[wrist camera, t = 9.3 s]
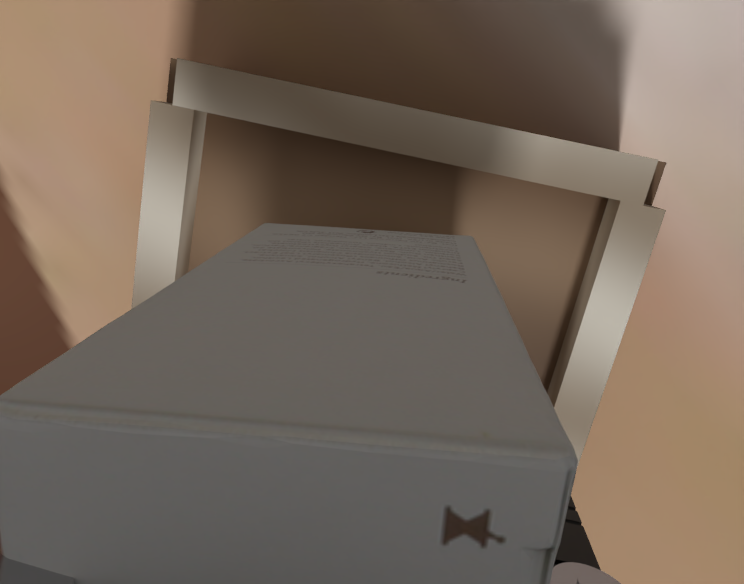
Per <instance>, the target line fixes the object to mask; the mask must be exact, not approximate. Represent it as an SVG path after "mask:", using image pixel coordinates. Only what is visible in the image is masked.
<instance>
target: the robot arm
mask: <svg viewBox="0 0 744 584" xmlns="http://www.w3.org/2000/svg"><path fill="white" fill-rule="evenodd" d="M575 508H576V507H575V505H574V502H573V500H572V497H571V496H570V500H569V505H568V509H567V514H566V519H565V523H564V528H563V533H562V537H561V542H560V545H559V549H558V552H557V555H556V558H555V562H554V566H553V570H552V575H551V580H550V584H621V583H619V582H618V581H617V580H616V579H614V578H613V577H611V576H610V575H608V574H606V573H605V572H603V571H601V570H600V567H599V565H598V562H597V560H596V557H595V555H594V552H593V550H592V547H591V545H590V542H589V540H588V537H587V535H586V532H585V530H584V527H583V526H581V523H582V522H581V520H580V517H579V515H578V512H577V511H575ZM73 580H74V578H73V577H69V576H65V575H62V574H59V573H55V572H52V571H48V570H45V569H42V568H38V567H35V566H32V565H28V564H25V563H21V562H18V561H15V560H11V559H8V558H6V557H5V556H4V555H2V554H1V550H0V584H73Z"/></svg>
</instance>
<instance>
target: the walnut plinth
mask: <svg viewBox="0 0 744 584" xmlns="http://www.w3.org/2000/svg"><path fill="white" fill-rule="evenodd" d="M665 165H666V163H665V162H660V161H658V160H657V159H652V158H647V157H643V156H638V155H633V154H629V153H624V152H619V151H614V150H610V149H605V148H600V147H595V146H591V145H586V144H581V143H576V142H572V141H567V140H562V139H558V138H553V137H548V136H543V135H539V134H534V133H529V132H524V131H520V130H515V129H510V128H505V127H501V126H496V125H491V124H487V123H482V122H477V121H472V120H468V119H463V118H458V117H453V116H449V115H444V114H439V113H434V112H430V111H425V110H420V109H416V108H411V107H406V106H401V105H397V104H392V103H387V102H382V101H378V100H373V99H368V98H363V97H359V96H354V95H349V94H345V93H340V92H335V91H330V90H326V89H321V88H316V87H311V86H307V85H302V84H297V83H292V82H288V81H283V80H278V79H274V78H269V77H264V76H259V75H255V74H250V73H245V72H240V71H236V70H231V69H226V68H221V67H217V66H212V65H207V64H203V63H198V62H193V61H188V60H184V59H179V58H177V59H173V58H171V63H170V73H169V83H168V93H167V102H160V101H151V104H150V115H149V126H148V136H147V147H146V158H145V169H144V180H143V190H142V201H141V212H140V223H139V233H138V244H137V255H136V266H135V276H134V287H133V298H132V309H133V308H134V307H136V306H138V305H139V304H141V303H142V302H144V301H145V300H147V299H148V298H150V297H152V296H153V295H155V294H156V293H158V292H159V291H161V290H162V289H164V288H165V287H167V286H169V285H170V284H172V283H173V282H175V281H176V280H177V279H179V278H180V277H182V276H183V275H185V274H186V273H188V272H190V271H191V270H193V269H194V268H196V267H198V266H199V265H200V264H202V263H203V262H205V261H207V260H208V259H210V258H211V257H213V256H215V255H216V254H217V253H218V252H220V251H222V250H223V249H225V248H226V247H228V246H230V245H231V244H233V243H234V242H236V241H237V240H239V239H241V238H242V237H244V236H245V235H247V234H248V233H250V232H251V231H253V230H255V229H256V228H258V227H259V226H261V225H262V224H264V223H276V224H291V225H308V226H324V227H340V228H355V229H370V230H384V231H400V232H416V233H431V234H445V235H465V236H472V237H473V238H474V239H475V241H476V243H477V245H478V248H479V250H480V252H481V253H482V255H483V257H484V259H485V261H486V264H487V266H488V268H489V270H490V272H491V274H492V277H493V279H494V280H495V282H496V285H497V287H498V289H499V291H500V293H501V295H502V297H503V300H504V302H505V304H506V307H507V309H508V311H509V313H510V315H511V317H512V319H513V322H514V324H515V326H516V328H517V330H518V332H519V334H520V336H521V338H522V341H523V343H524V346H525V348H526V350H527V352H528V355H529V357H530V359H531V361H532V363H533V365H534V366H535V369H536V371H537V373H538V375H539V378H540V380H541V382H542V384H543V386H544V389H545V390H546V392H547V394H548V396H549V398H550V400H551V403H552V405H553V407H554V409H555V412H556V414H557V416H558V418H559V420H560V422H561V424H562V426H563V428H564V430H565V432H566V434H567V436H568V438H569V440H570V442H571V443H572V445H573V448H574V450H575V453H576V456H577V459H578V464H579V461H580V458H581V455H582V452H583V449H584V446H585V443H586V440H587V438H588V435H589V432H590V429H591V426H592V423H593V420H594V417H595V414H596V411H597V409H598V406H599V403H600V400H601V397H602V394H603V391H604V388H605V385H606V382H607V380H608V377H609V374H610V371H611V368H612V365H613V362H614V359H615V356H616V353H617V351H618V348H619V345H620V342H621V339H622V336H623V333H624V330H625V327H626V325H627V322H628V319H629V316H630V313H631V310H632V307H633V304H634V301H635V298H636V296H637V293H638V290H639V287H640V284H641V281H642V278H643V275H644V272H645V269H646V267H647V264H648V261H649V258H650V255H651V252H652V249H653V246H654V243H655V240H656V238H657V235H658V232H659V229H660V226H661V223H662V220H663V217H664V214H665V211H666V210H663V209H660V208H657V207H654V206H652V203H653V200H654V197H655V194H656V191H657V188H658V185H659V182H660V180H661V177H662V174H663V171H664V168H665ZM578 464H577V466H578Z"/></svg>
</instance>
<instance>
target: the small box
mask: <svg viewBox="0 0 744 584" xmlns="http://www.w3.org/2000/svg"><path fill="white" fill-rule="evenodd" d="M577 464H578V459H577V456H576V453H575V450H574V448H573V445H572V443H571V442H570V440H569V438H568V436H567V434H566V432H565V430H564V428H563V426H562V424H561V422H560V420H559V418H558V416H557V414H556V412H555V409H554V407H553V405H552V403H551V400H550V398H549V396H548V394H547V392H546V390H545V389H544V386H543V384H542V382H541V380H540V378H539V375H538V373H537V371H536V369H535V366H534V365H533V363H532V361H531V359H530V357H529V355H528V352H527V350H526V348H525V346H524V343H523V341H522V338H521V336H520V334H519V332H518V330H517V328H516V326H515V324H514V322H513V319H512V317H511V315H510V313H509V311H508V309H507V307H506V304H505V302H504V300H503V297H502V295H501V293H500V291H499V289H498V287H497V285H496V282H495V280H494V279H493V277H492V274H491V272H490V270H489V268H488V266H487V264H486V261H485V259H484V257H483V255H482V253H481V252H480V250H479V248H478V245H477V243H476V241H475V239H474V238H473V237H472V236H465V235H445V234H431V233H416V232H400V231H384V230H370V229H355V228H340V227H324V226H308V225H291V224H276V223H264V224H262V225H261V226H259V227H258V228H256V229H255V230H253V231H251V232H250V233H248V234H247V235H245V236H244V237H242V238H241V239H239V240H237V241H236V242H234V243H233V244H231V245H230V246H228V247H226V248H225V249H223V250H222V251H220V252H218V253H217V254H216V255H215V256H213V257H211V258H210V259H208V260H207V261H205V262H203V263H202V264H200V265H199V266H198V267H196V268H194V269H193V270H191V271H190V272H188V273H186V274H185V275H183V276H182V277H180V278H179V279H177V280H176V281H175V282H173V283H172V284H170V285H169V286H167V287H165V288H164V289H162V290H161V291H159V292H158V293H156V294H155V295H153V296H152V297H150V298H148V299H147V300H145V301H144V302H142V303H141V304H139V305H138V306H136V307H134V308H133V309H131V310H130V311H128V312H127V313H125V314H124V315H122V316H120V317H119V318H117V319H115V320H114V321H112V322H111V323H109V324H107V325H106V326H104V327H103V328H101V329H100V330H98V331H97V332H95V333H94V334H92V335H91V336H89V337H88V338H86V339H85V340H83V341H82V342H80V343H79V344H77V345H76V346H74V347H73V348H72V349H70V350H69V351H67V352H66V353H64V354H63V355H61V356H59V357H58V358H56V359H55V360H53V361H52V362H50V363H49V364H47V365H45V366H44V367H43V368H41V369H40V370H38V371H36V372H35V373H33V374H32V375H30V376H29V377H27V378H26V379H24V380H23V381H21V382H20V383H18V384H17V385H15V386H14V387H12V388H11V389H9V390H8V391H6V392H5V393H3V394H2V395H0V550H1V554H2V555H4V556H5V557H6V558H8V559H11V560H15V561H18V562H21V563H25V564H28V565H32V566H35V567H38V568H42V569H45V570H48V571H52V572H55V573H59V574H62V575H65V576H69V577H73V578H74V580H73V584H550V580H551V575H552V570H553V566H554V562H555V558H556V555H557V552H558V549H559V545H560V542H561V537H562V533H563V528H564V523H565V519H566V514H567V509H568V505H569V500H570V496H571V491H572V487H573V483H574V478H575V474H576V469H577Z"/></svg>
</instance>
